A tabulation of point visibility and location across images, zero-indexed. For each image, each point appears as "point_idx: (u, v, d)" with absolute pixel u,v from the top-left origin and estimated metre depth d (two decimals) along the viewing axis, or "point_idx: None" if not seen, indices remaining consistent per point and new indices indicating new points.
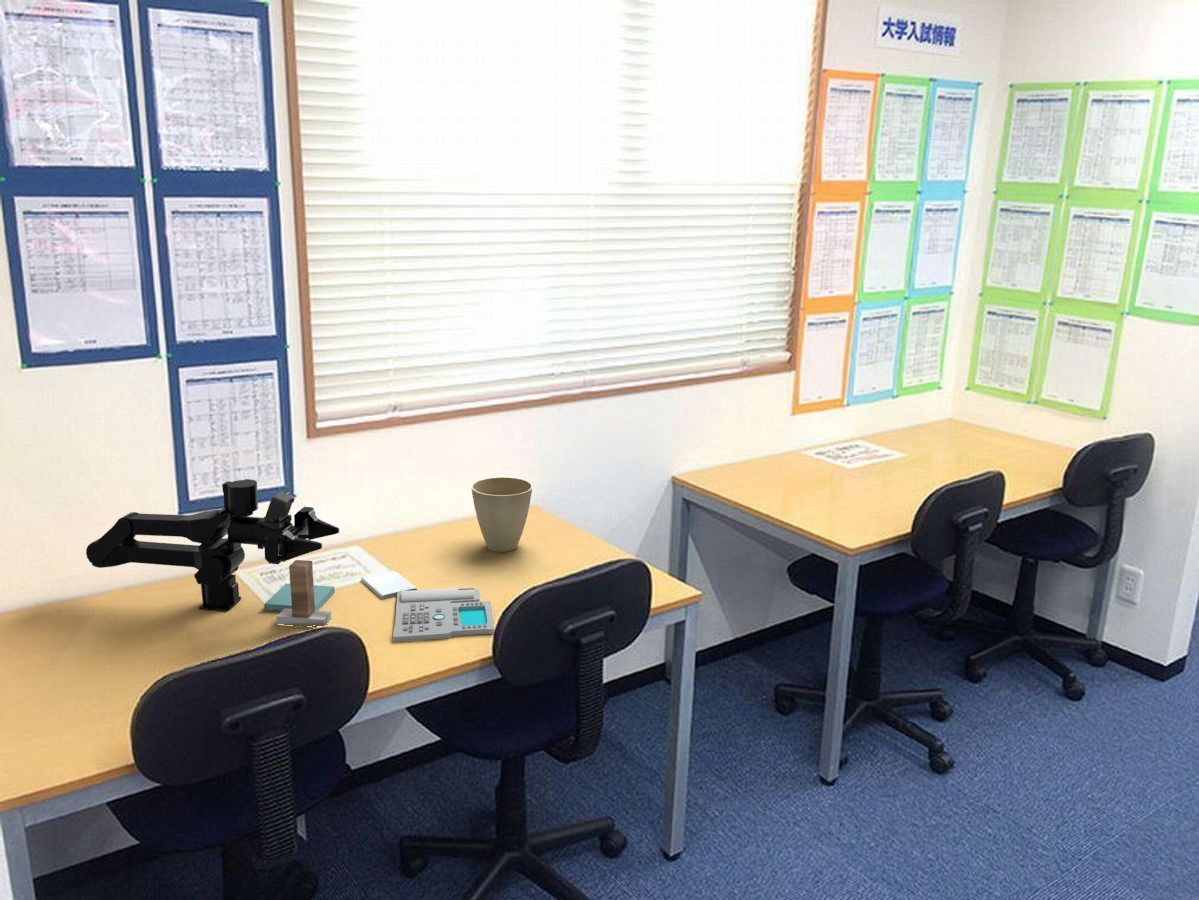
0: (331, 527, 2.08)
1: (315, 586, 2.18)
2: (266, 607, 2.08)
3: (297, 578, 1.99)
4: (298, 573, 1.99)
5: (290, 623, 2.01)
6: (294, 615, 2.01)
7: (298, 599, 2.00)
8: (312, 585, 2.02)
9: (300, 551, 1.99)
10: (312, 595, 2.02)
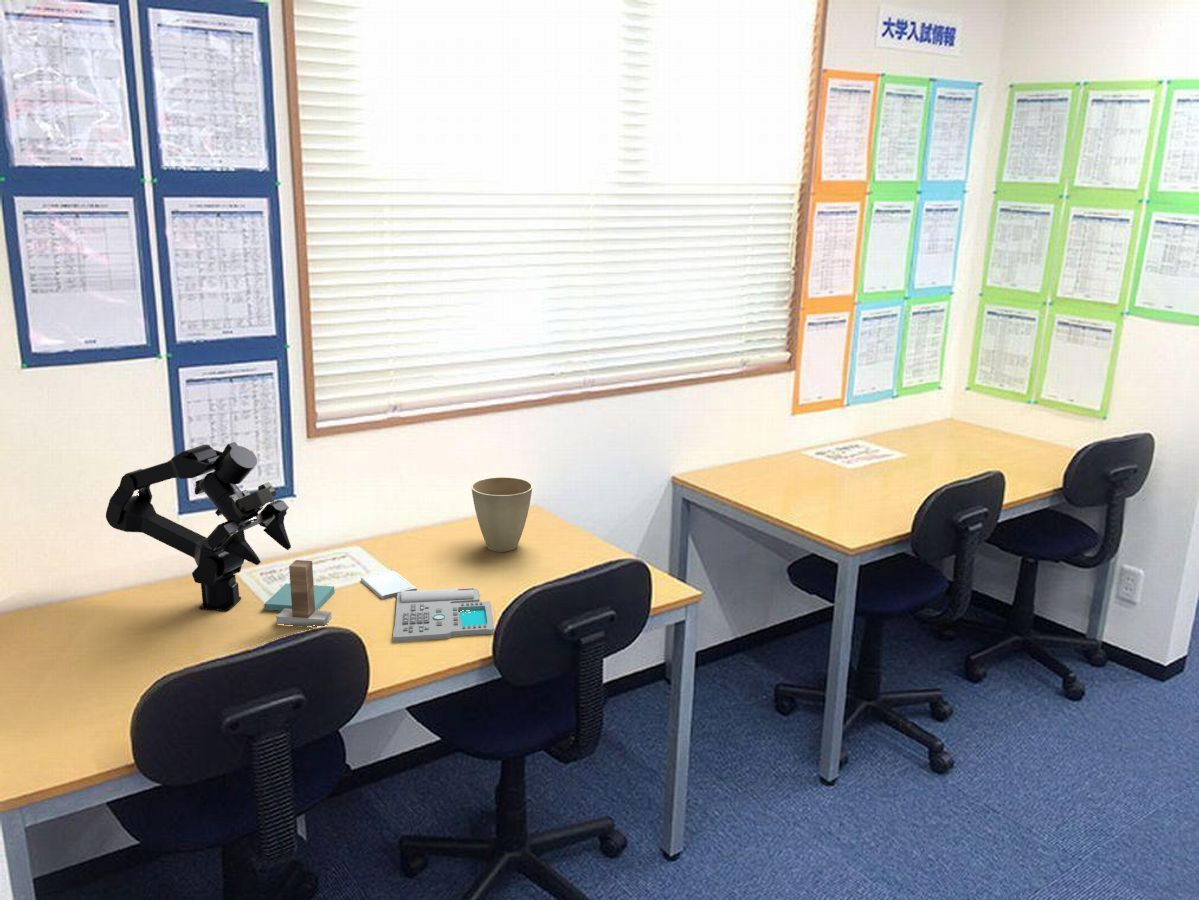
0: (286, 541, 2.06)
1: (315, 586, 2.18)
2: (266, 607, 2.08)
3: (297, 578, 1.99)
4: (298, 573, 1.99)
5: (290, 623, 2.01)
6: (294, 615, 2.01)
7: (298, 599, 2.00)
8: (313, 585, 2.02)
9: (239, 553, 1.98)
10: (312, 595, 2.02)
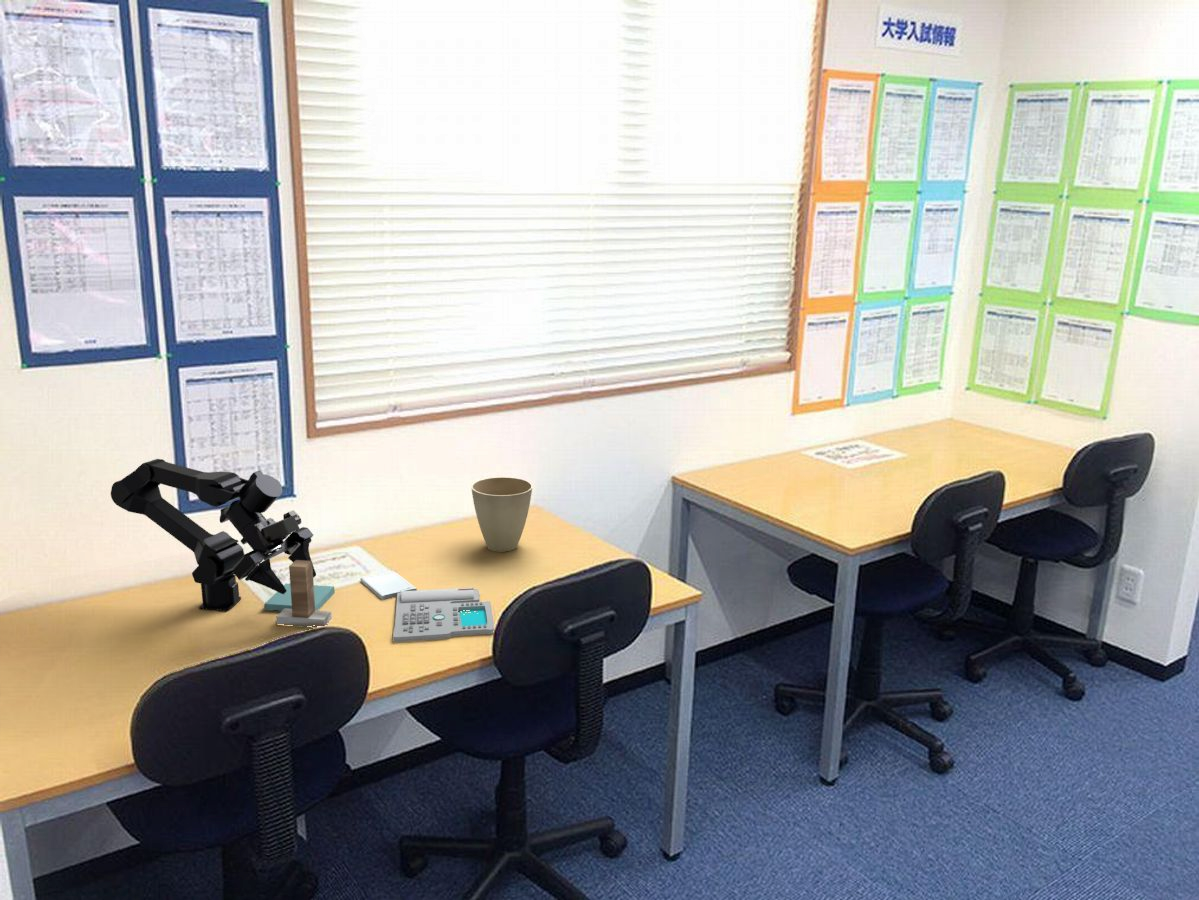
0: None
1: (315, 586, 2.18)
2: (266, 607, 2.08)
3: (297, 578, 1.99)
4: (298, 573, 1.99)
5: (290, 623, 2.01)
6: (294, 615, 2.01)
7: (298, 599, 2.00)
8: (312, 585, 2.02)
9: (265, 582, 1.97)
10: (312, 595, 2.02)
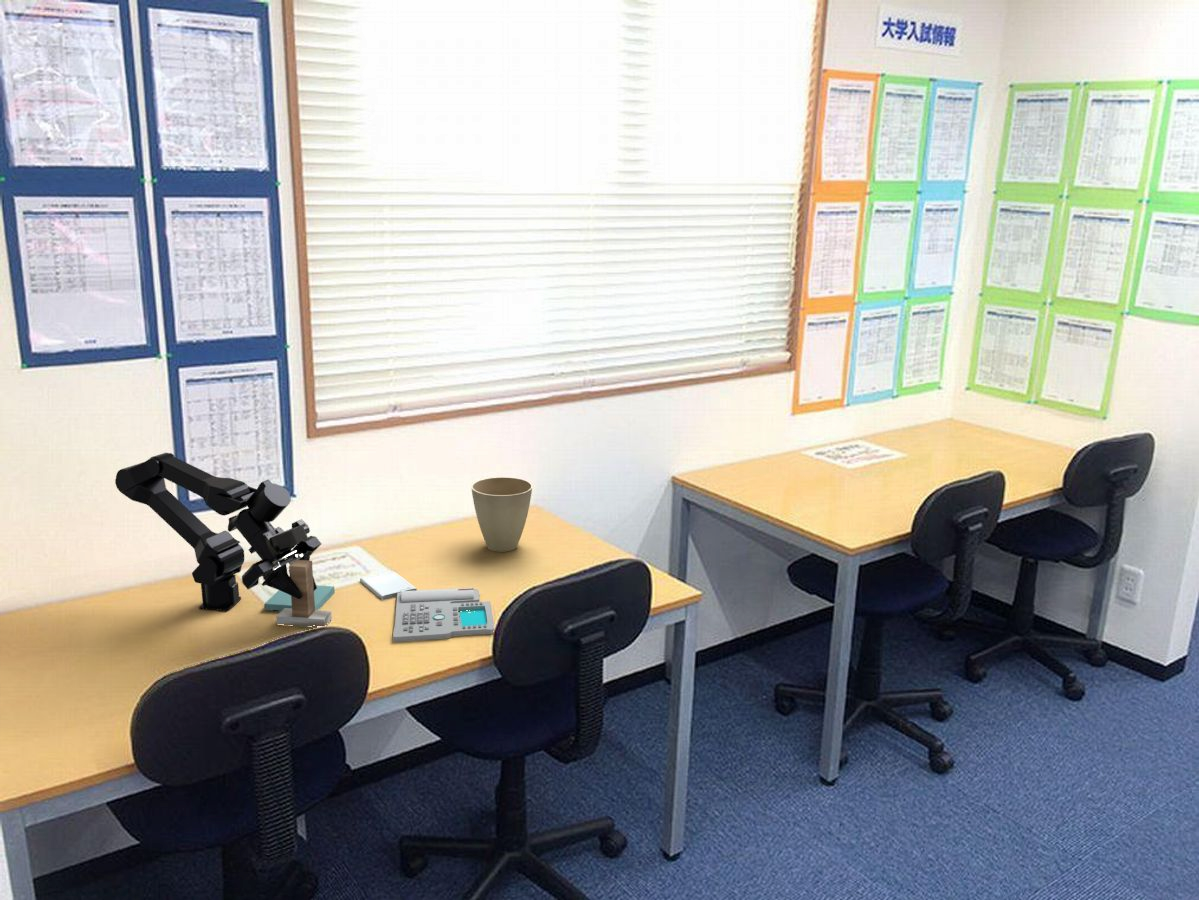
0: None
1: None
2: (266, 607, 2.08)
3: (297, 578, 1.99)
4: (298, 572, 1.99)
5: (290, 623, 2.01)
6: (294, 615, 2.01)
7: (298, 599, 2.00)
8: (312, 584, 2.02)
9: (281, 587, 1.99)
10: (312, 594, 2.02)
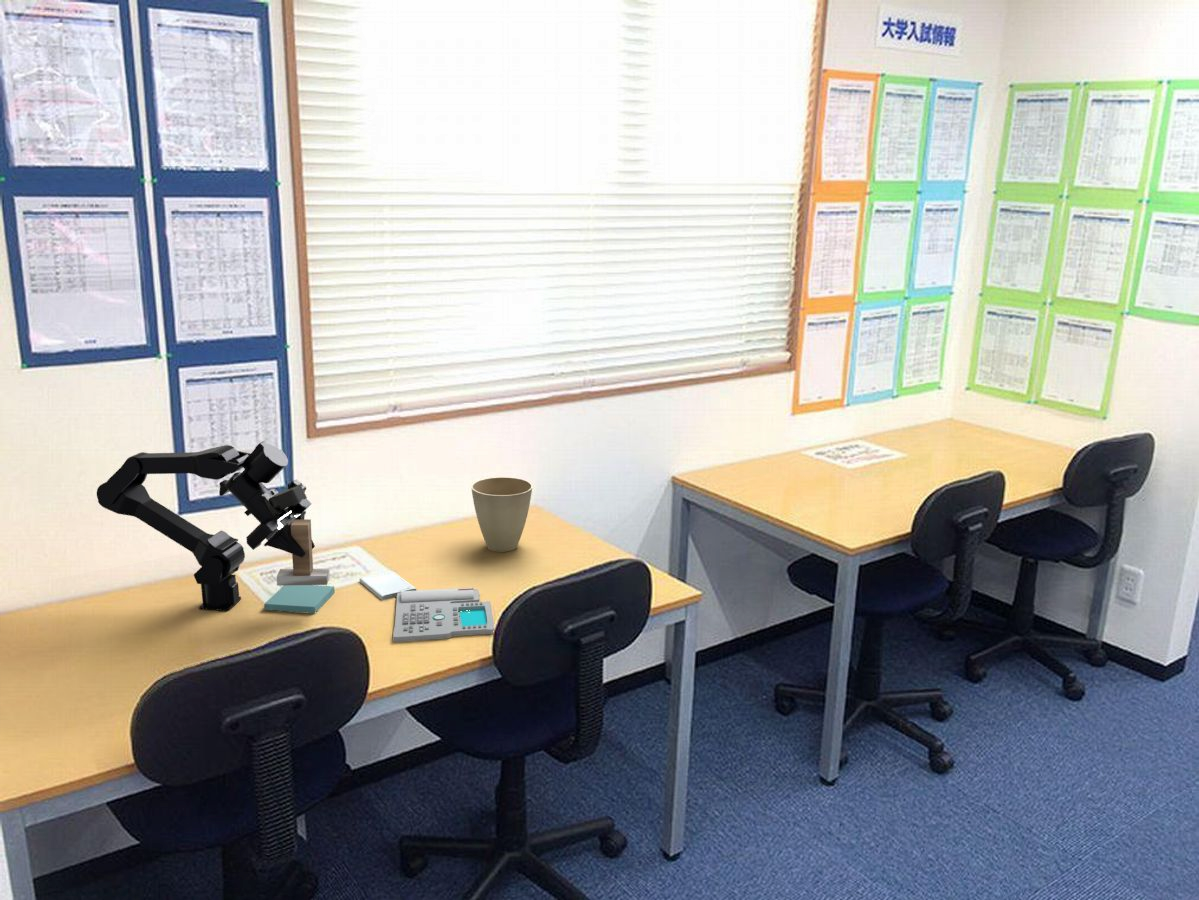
0: None
1: (315, 586, 2.18)
2: (266, 607, 2.08)
3: (299, 536, 2.02)
4: (300, 531, 2.02)
5: (291, 582, 2.04)
6: (295, 574, 2.04)
7: (299, 557, 2.03)
8: (311, 543, 2.06)
9: (284, 547, 2.01)
10: (311, 553, 2.06)
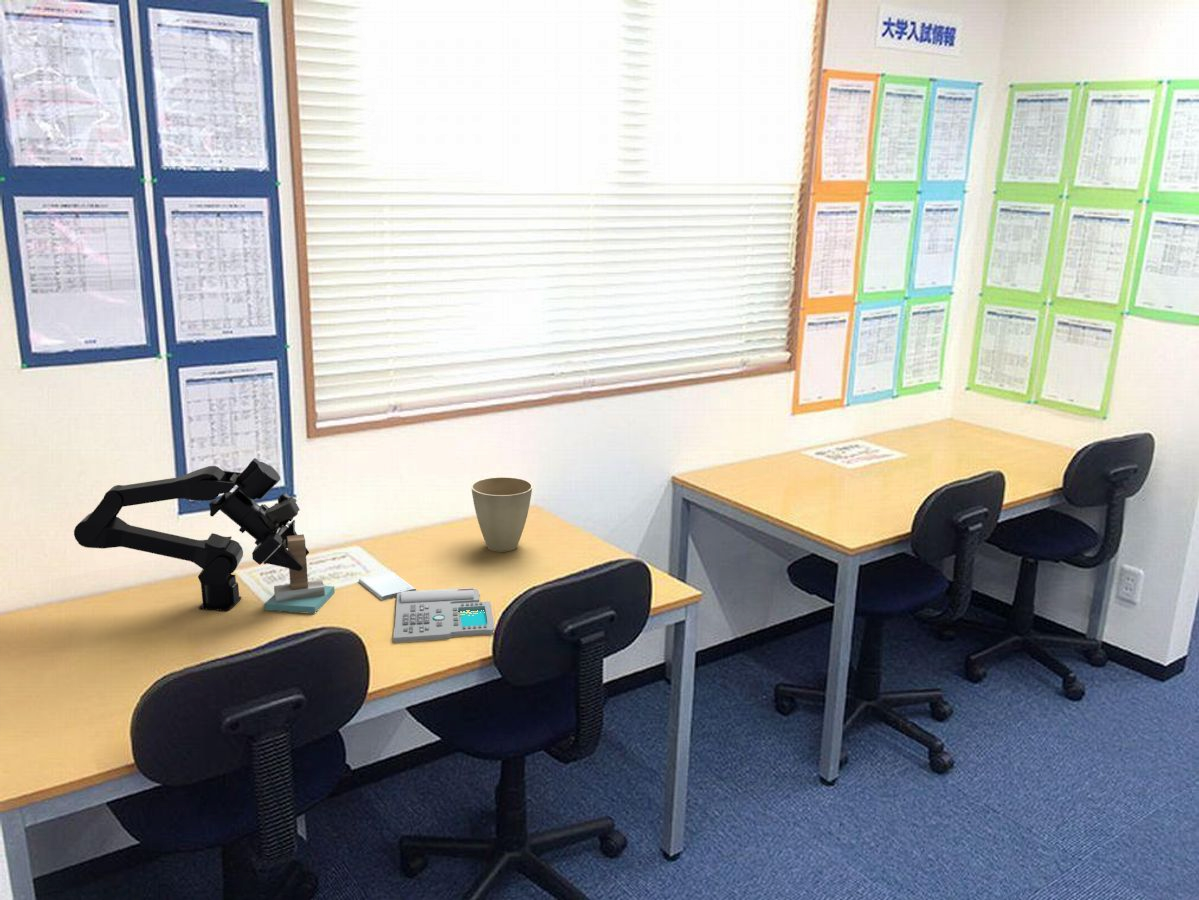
0: None
1: None
2: (266, 607, 2.08)
3: (296, 551, 2.09)
4: (298, 546, 2.08)
5: (290, 597, 2.10)
6: (293, 588, 2.10)
7: (297, 572, 2.10)
8: None
9: (282, 563, 2.05)
10: None
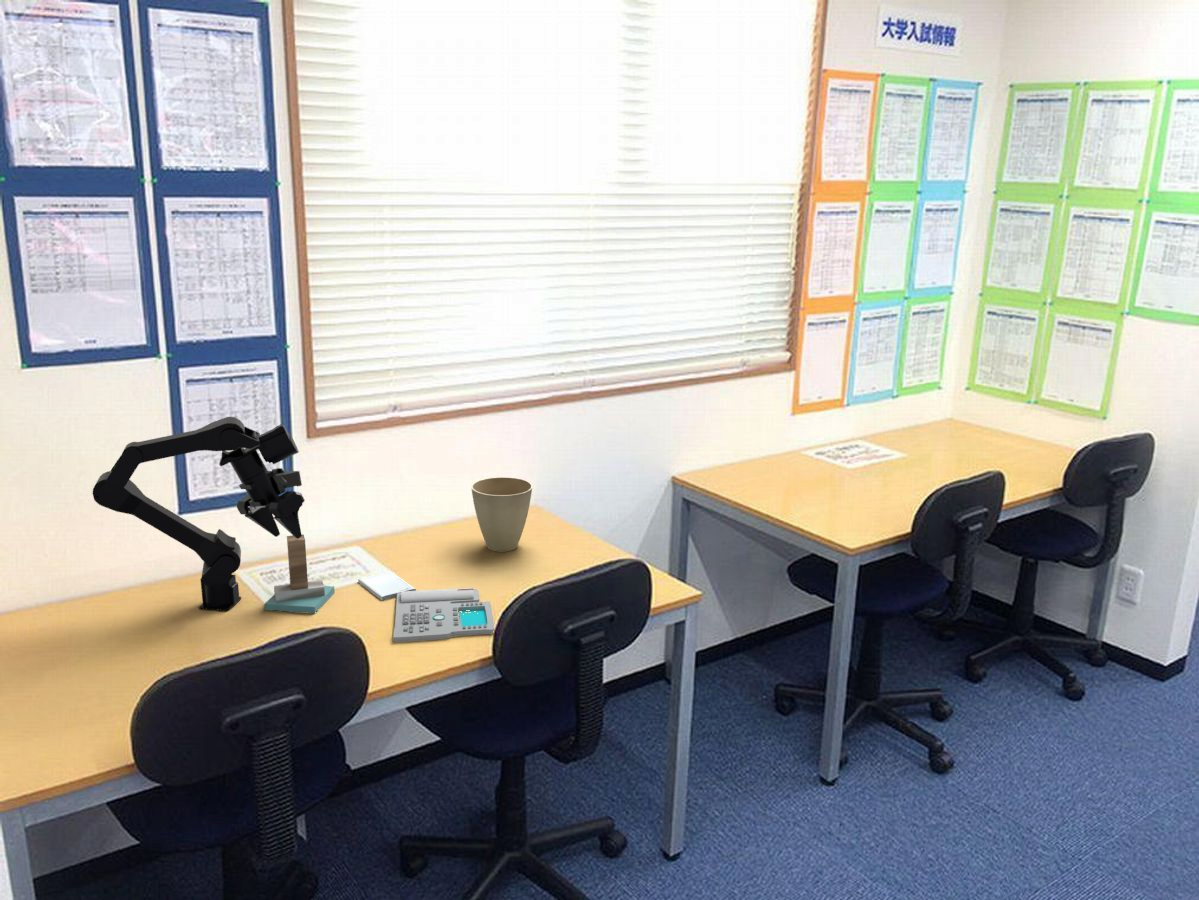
0: (277, 528, 2.15)
1: None
2: (266, 607, 2.08)
3: (296, 551, 2.09)
4: (298, 546, 2.08)
5: (290, 597, 2.10)
6: (293, 588, 2.10)
7: (297, 572, 2.10)
8: None
9: (289, 524, 2.06)
10: None
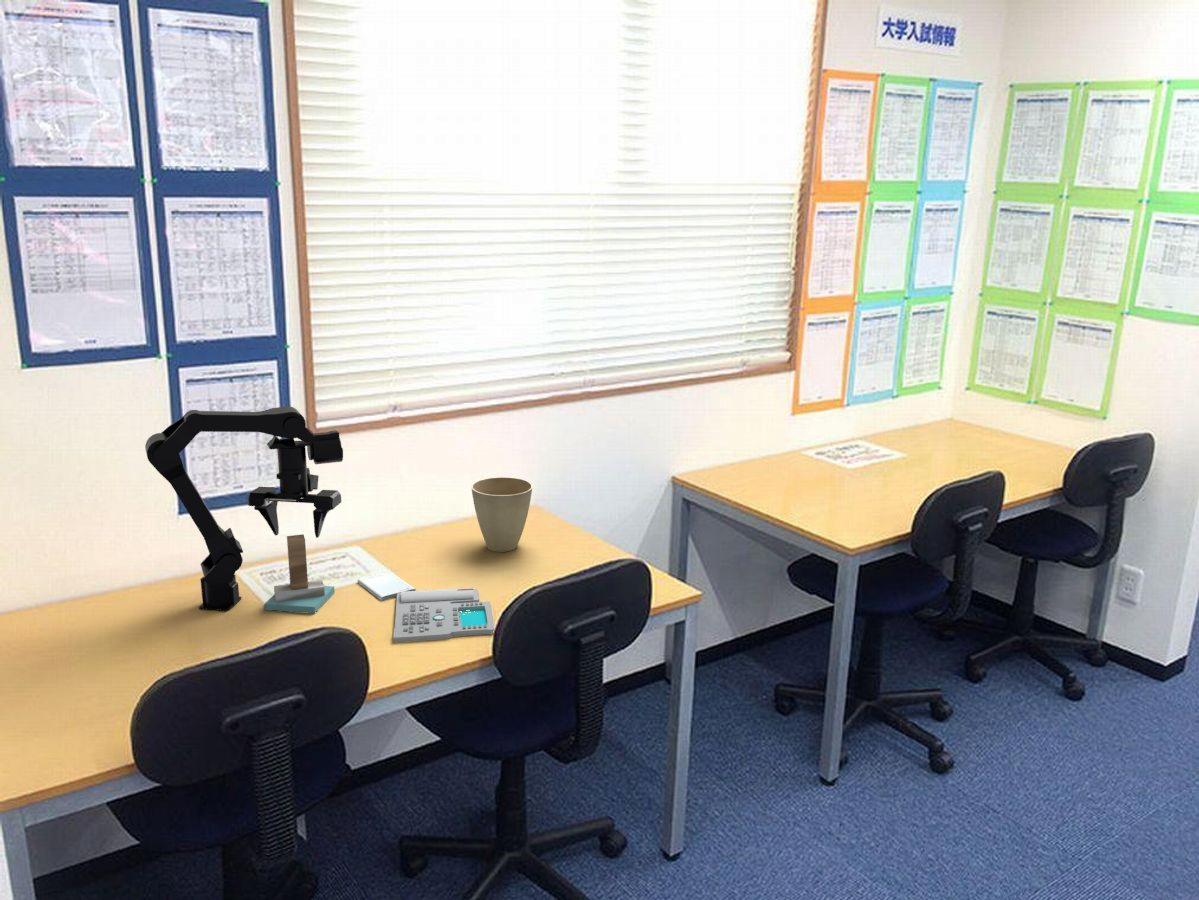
0: (278, 527, 2.16)
1: None
2: (266, 607, 2.08)
3: (296, 551, 2.09)
4: (298, 546, 2.08)
5: (290, 597, 2.10)
6: (293, 588, 2.10)
7: (297, 572, 2.10)
8: None
9: (320, 521, 2.12)
10: None
